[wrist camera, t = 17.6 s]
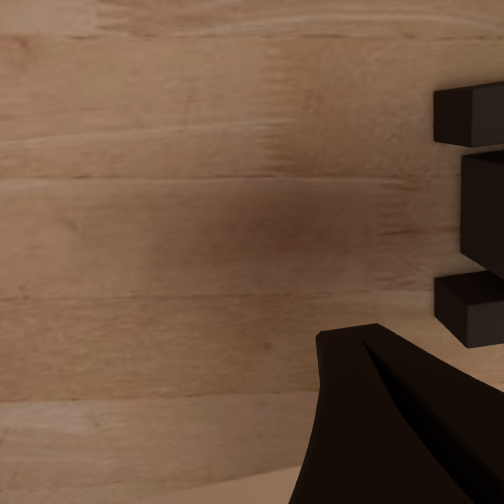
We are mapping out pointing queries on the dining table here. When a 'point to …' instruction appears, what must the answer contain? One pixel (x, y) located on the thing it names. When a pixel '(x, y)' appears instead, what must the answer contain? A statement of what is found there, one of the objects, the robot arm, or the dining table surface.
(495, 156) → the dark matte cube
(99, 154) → the dining table surface
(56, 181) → the dining table surface
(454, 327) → the black u-shaped block
